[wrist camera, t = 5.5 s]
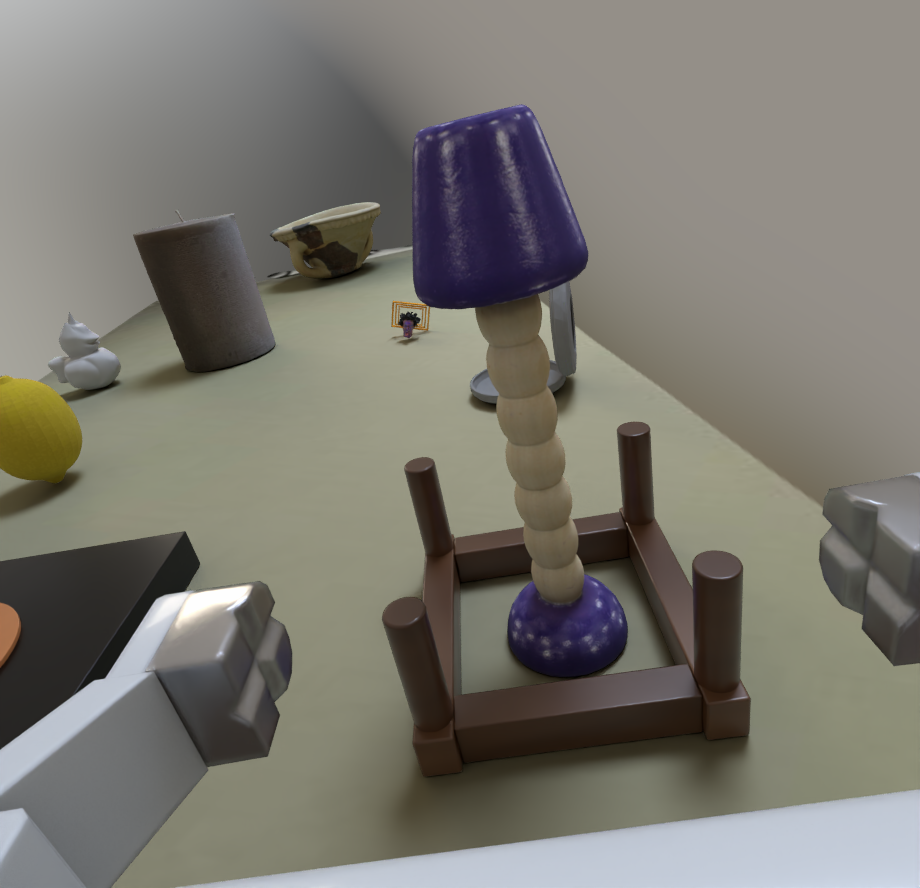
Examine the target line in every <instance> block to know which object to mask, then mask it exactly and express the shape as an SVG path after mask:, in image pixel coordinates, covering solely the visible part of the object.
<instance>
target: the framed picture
mask: <svg viewBox="0 0 920 888" xmlns="http://www.w3.org/2000/svg"><path fill="white" fill-rule="evenodd" d="M394 303H403V304H396V311H395V325H401V326H395V325H393V312H394ZM405 304H412V305H405ZM397 305H403V306H399V310H400V307H404V306H412V307H404V308H413V307H421V308H413V309H422V308H426V309H427V307H423V306H427V305H426V304H417V303H408V302H399V301H393V305H392V326H391V327H399V328H403V331H404V337H408V338H410V337H411V336H412V330H413V329H418V330H427V331H428V326H429V313H430V307H429V310H428V323H427V329H423V328H425V323H426V309H425V323H424V327H423V326H422V325H421V324H418V323H419V322H420V320H421V319H420V318H418V317H417V318H416V316H417V313H414V315H412V313H413V312H411V314H410V312H407V313H406V315H405V314H403V313H402V314H401V315H400V318H401V319H400V322H399V312H398V324H396V313H397ZM414 305H422V306H414ZM422 310H423V309H422ZM422 322H423V311H422ZM418 325H421V326H418ZM415 327H420V328H415Z"/></svg>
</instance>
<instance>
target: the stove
mask: <svg viewBox="0 0 920 888" xmlns="http://www.w3.org/2000/svg"><path fill="white" fill-rule="evenodd" d="M199 565H200V562H199V560H198V558H197V555H196V553H195V551H194V549H193V547H192V544H191V542H190V540H189V538H188V536H187V534H186V532H185V531H184V532H178V533H172V534H166V535H159V536H153V537H147V538H141V539H135V540H129V541H123V542H117V543H110V544H104V545H98V546H92V547H86V548H80V549H74V550H67V551H61V552H55V553H49V554H43V555H37V556H31V557H25V558H18V559H12V560H6V561H0V750H1V749H2V748H3V747H5V746H6V745H7V744H9V743H10V742H11V741H13V740H14V739H15V738H17V737H18V736H20V735H21V734H22V733H24V732H25V731H26V730H28V729H29V728H30V727H32V726H33V725H34V724H36V723H37V722H39V721H40V720H41V719H43V718H44V717H45V716H47V715H48V714H49V713H51V712H52V711H53V710H55V709H56V708H58V707H59V706H60V705H62V704H63V703H64V702H66V701H67V700H68V699H70V698H71V697H72V696H74V695H75V694H77V693H78V692H79V691H81V690H82V689H83V688H85V687H86V686H87V685H89V684H90V683H91V682H93V681H94V680H100V679H105V678H106V676H107V675H108V673H109V672H110V670H111V669H112V667H113V666H114V664H115V662H116V661H117V659H118V658H119V656H120V655H121V653H122V652H123V650H124V648H125V647H126V645H127V644H128V642H129V641H130V639H131V638H132V636H133V634H134V633H135V631H136V630H137V628H138V627H139V625H140V623H141V622H142V620H143V619H144V617H145V616H146V614H147V613H148V611H149V609H150V608H151V606H152V605H153V603H154V602H155V600H156V599H158V598H160V597H162V596H164V595H168V594H174V593H180V592H184V590H185V589H186V587H187V585H188V584H189V582H190V580H191V579H192V577H193V575H194V574H195V572H196V570H197V568H198V567H199Z"/></svg>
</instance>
